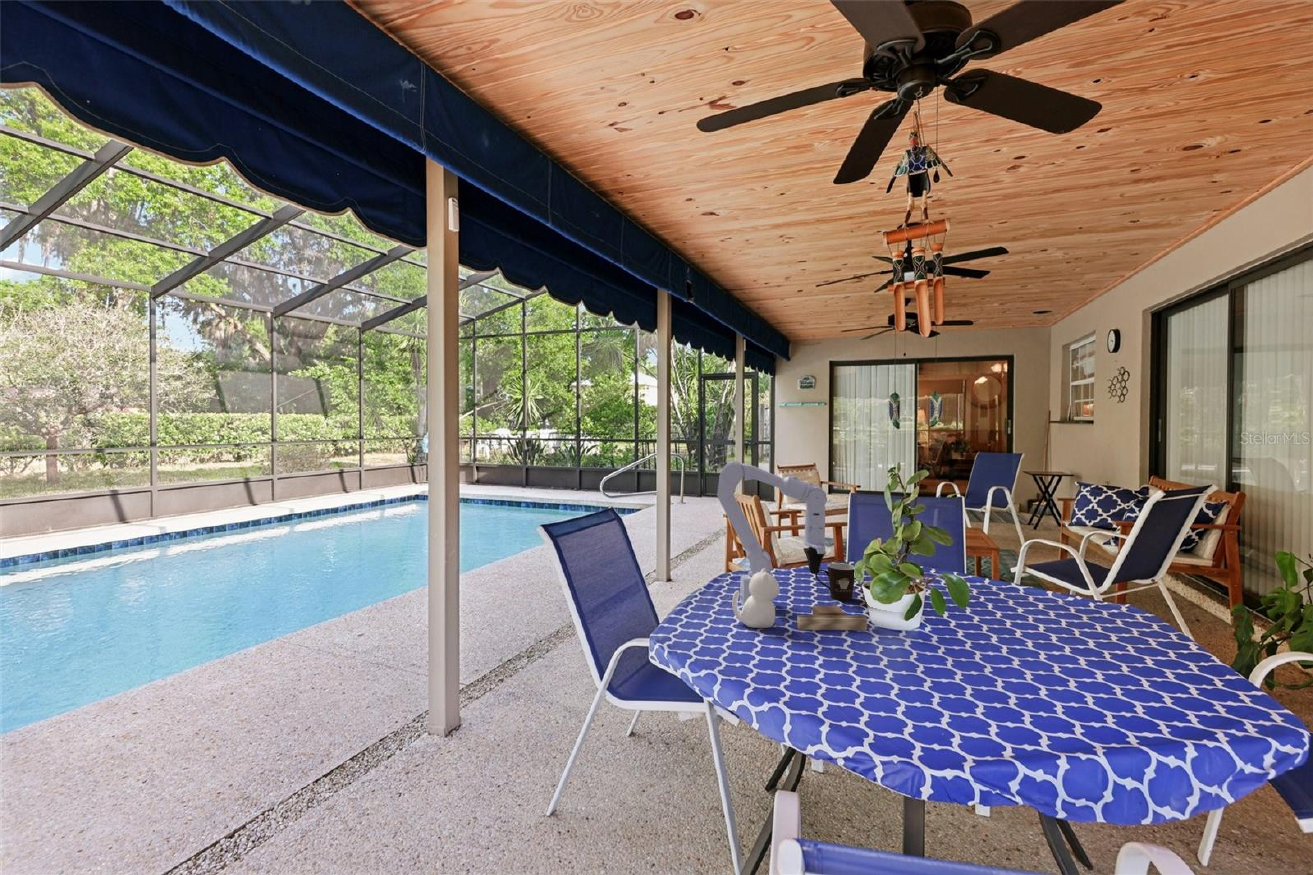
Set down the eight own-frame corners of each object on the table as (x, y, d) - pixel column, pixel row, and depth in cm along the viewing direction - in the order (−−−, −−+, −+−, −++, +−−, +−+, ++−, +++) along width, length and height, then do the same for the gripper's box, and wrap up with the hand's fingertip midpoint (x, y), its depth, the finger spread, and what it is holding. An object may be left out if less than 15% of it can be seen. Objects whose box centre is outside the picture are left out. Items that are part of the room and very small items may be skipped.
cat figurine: (780, 632, 153) (782, 575, 152) (731, 629, 154) (733, 572, 154) (776, 621, 162) (778, 567, 161) (731, 618, 163) (733, 564, 163)
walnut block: (819, 627, 157) (819, 612, 157) (812, 620, 163) (812, 605, 163) (844, 627, 158) (845, 612, 158) (837, 620, 164) (837, 605, 164)
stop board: (799, 629, 155) (799, 617, 154) (797, 626, 157) (797, 614, 157) (867, 630, 155) (867, 617, 155) (863, 626, 158) (863, 614, 158)
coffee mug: (858, 596, 186) (859, 565, 185) (851, 603, 178) (852, 571, 178) (821, 591, 192) (822, 560, 192) (813, 597, 184) (814, 565, 184)
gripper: (836, 531, 166) (835, 579, 166) (821, 523, 180) (820, 567, 181) (811, 531, 166) (810, 579, 166) (798, 523, 180) (797, 567, 181)
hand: (814, 573), depth 173 cm, fingers closed
